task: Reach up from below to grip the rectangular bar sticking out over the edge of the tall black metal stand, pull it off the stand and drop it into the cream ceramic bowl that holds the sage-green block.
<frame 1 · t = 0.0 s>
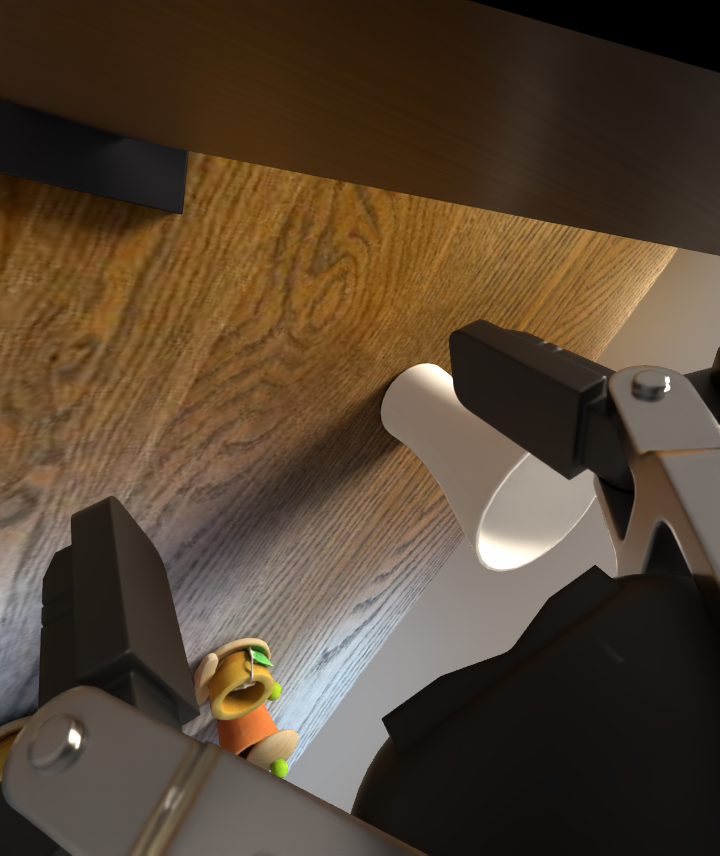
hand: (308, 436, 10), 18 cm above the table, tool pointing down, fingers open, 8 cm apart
cup: (413, 400, 37), on the table
toy tea set: (166, 690, 40), on the table
stand: (72, 65, 19), on the table
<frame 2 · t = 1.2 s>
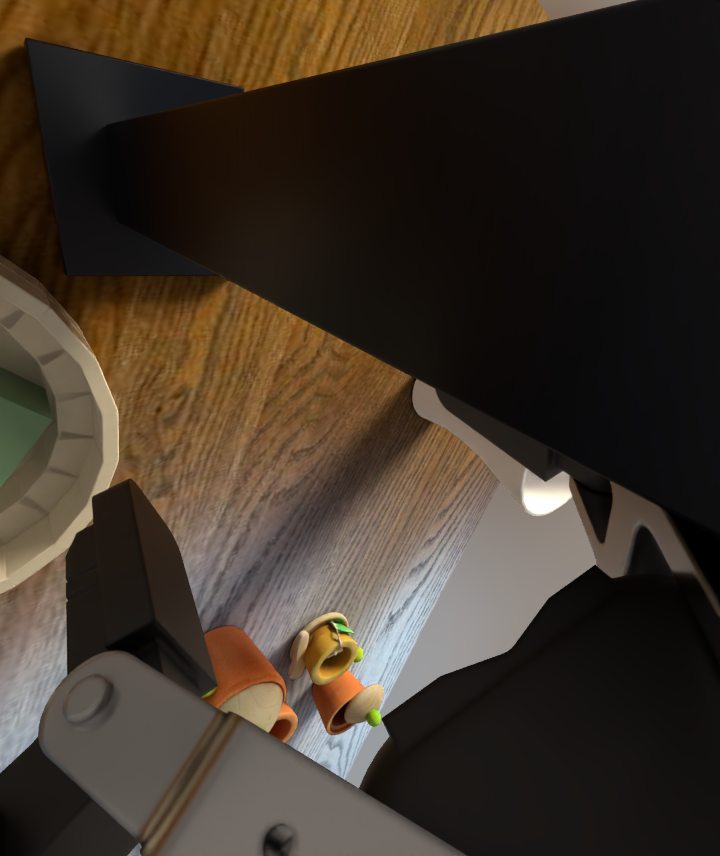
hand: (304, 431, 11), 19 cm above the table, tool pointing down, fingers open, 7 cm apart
cup: (437, 384, 43), on the table
toy tea set: (267, 669, 46), on the table
stand: (151, 179, 23), on the table
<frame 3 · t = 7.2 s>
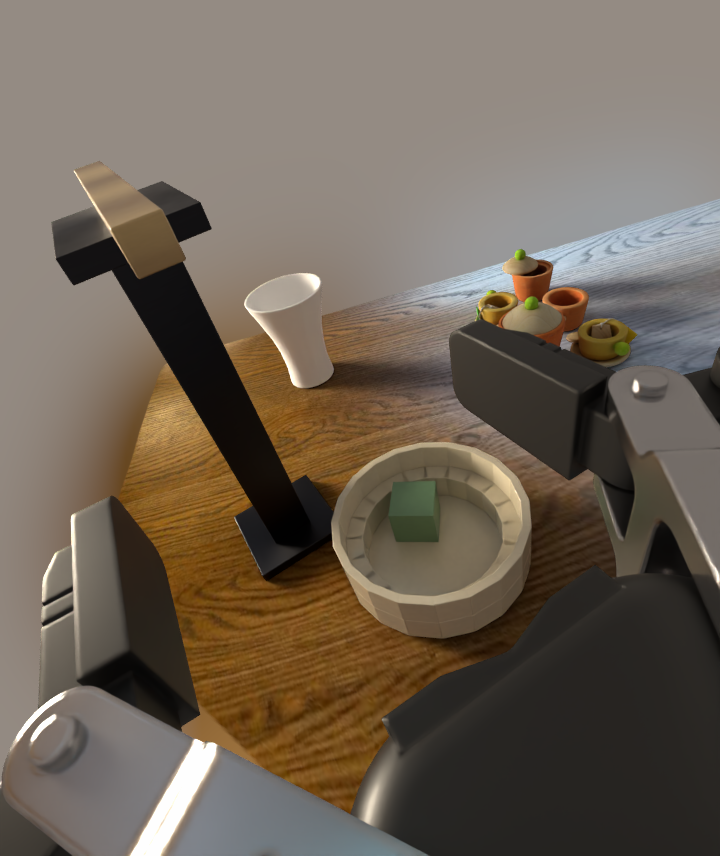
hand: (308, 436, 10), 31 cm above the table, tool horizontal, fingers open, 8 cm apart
cup: (313, 376, 70), on the table
toy tea set: (536, 332, 65), on the table
bowl: (435, 551, 43), on the table
stand: (289, 526, 49), on the table
block: (418, 524, 45), point 1 cm above the table, touching bowl
rectangular bar: (123, 219, 27), point 32 cm above the table, touching stand
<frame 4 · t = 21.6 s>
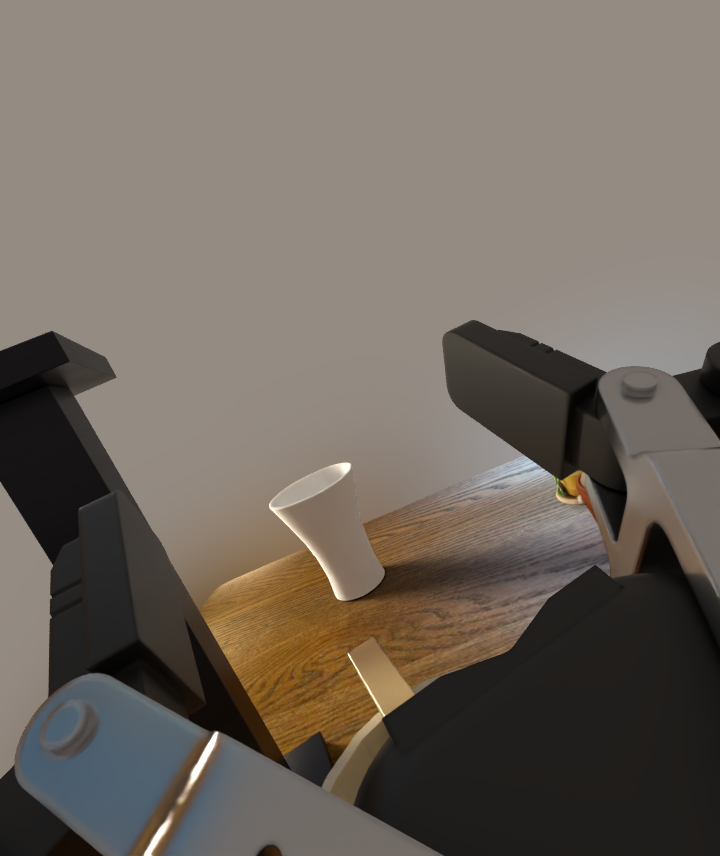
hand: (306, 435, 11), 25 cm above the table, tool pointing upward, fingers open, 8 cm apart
cup: (361, 584, 56), on the table
toy tea set: (644, 494, 47), on the table
stand: (280, 832, 30), on the table
rectangular bar: (468, 817, 20), point 6 cm above the table, touching bowl
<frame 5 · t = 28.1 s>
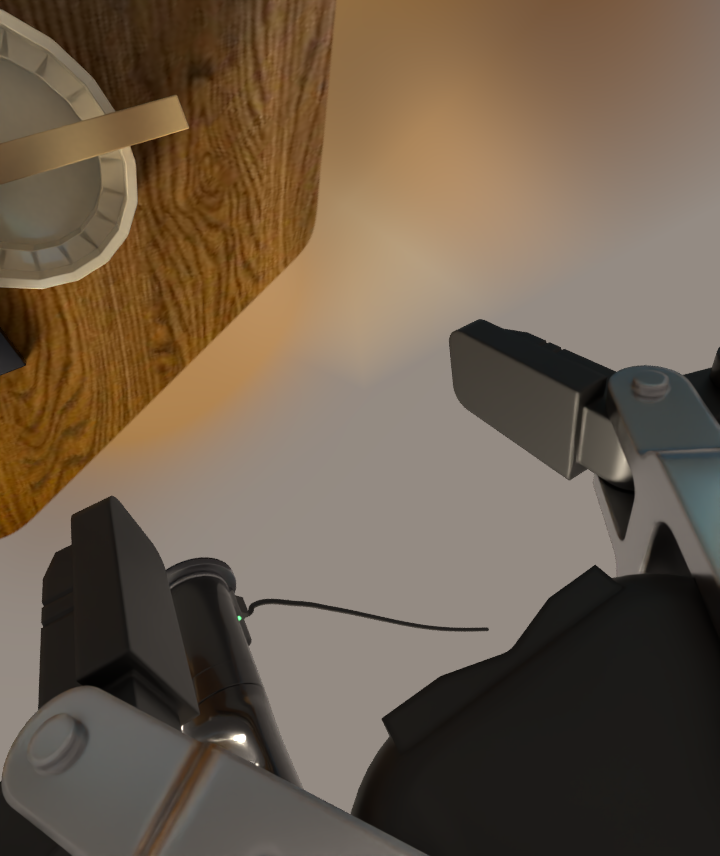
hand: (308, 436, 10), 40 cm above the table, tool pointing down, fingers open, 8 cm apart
bowl: (7, 157, 35), on the table
rectangular bar: (4, 162, 31), point 6 cm above the table, touching bowl
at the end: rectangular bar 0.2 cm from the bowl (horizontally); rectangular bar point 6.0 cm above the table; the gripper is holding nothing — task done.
